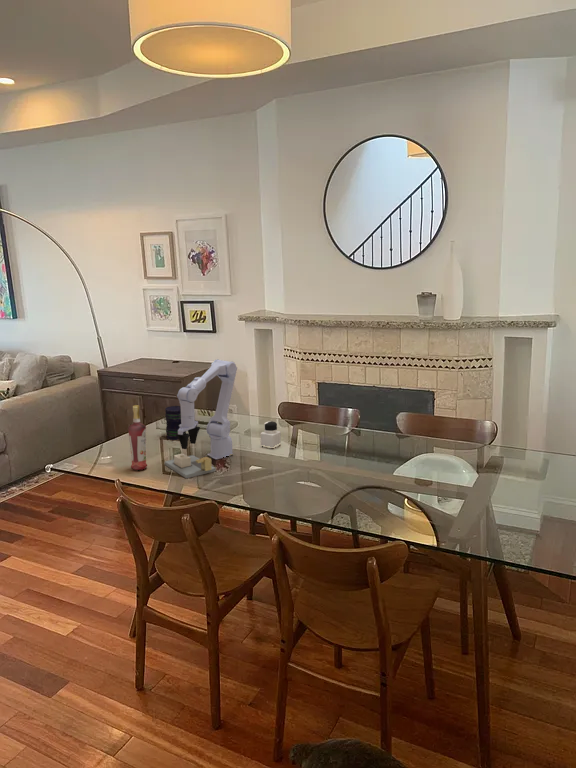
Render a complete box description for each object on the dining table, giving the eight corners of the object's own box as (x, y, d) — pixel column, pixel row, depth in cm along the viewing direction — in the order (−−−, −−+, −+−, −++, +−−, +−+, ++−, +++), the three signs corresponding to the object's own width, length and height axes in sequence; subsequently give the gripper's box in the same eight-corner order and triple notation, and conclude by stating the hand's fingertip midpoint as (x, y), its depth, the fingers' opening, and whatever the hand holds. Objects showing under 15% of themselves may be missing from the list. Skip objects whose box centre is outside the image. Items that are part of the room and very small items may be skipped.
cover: (183, 461, 260) (182, 452, 259) (190, 465, 254) (190, 456, 253) (174, 463, 257) (173, 454, 256) (181, 467, 252) (181, 458, 251)
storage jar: (184, 440, 293) (183, 411, 290) (164, 439, 293) (163, 410, 290) (187, 434, 303) (186, 405, 300) (168, 433, 303) (167, 405, 300)
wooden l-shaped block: (207, 467, 252) (207, 456, 251) (211, 469, 250) (211, 458, 249) (195, 470, 249) (194, 459, 248) (199, 472, 246) (198, 461, 245)
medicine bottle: (280, 445, 286) (280, 421, 283) (272, 449, 280) (272, 425, 277) (268, 443, 289) (268, 419, 287) (260, 447, 284) (260, 423, 281)
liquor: (143, 472, 250) (140, 408, 244) (127, 471, 252) (123, 407, 246) (150, 466, 257) (147, 404, 251) (135, 465, 259) (131, 403, 253)
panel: (193, 458, 268) (193, 455, 267) (215, 471, 252) (215, 467, 252) (164, 464, 260) (164, 461, 259) (186, 478, 244) (186, 475, 244)
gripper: (187, 410, 259) (188, 440, 261) (170, 419, 245) (172, 450, 248) (202, 411, 256) (202, 441, 259) (186, 420, 243) (187, 452, 246)
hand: (188, 446), depth 254 cm, fingers open, 7 cm apart
